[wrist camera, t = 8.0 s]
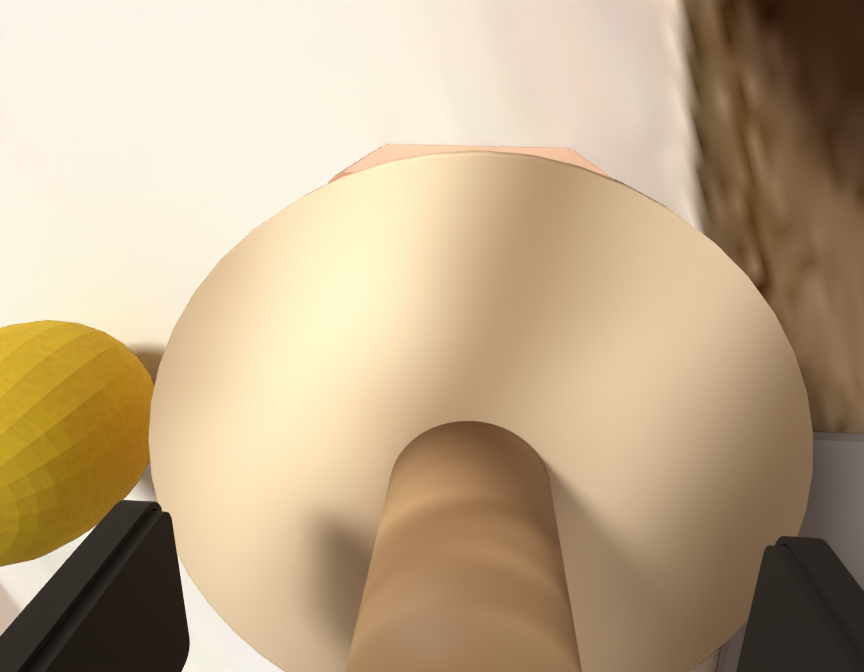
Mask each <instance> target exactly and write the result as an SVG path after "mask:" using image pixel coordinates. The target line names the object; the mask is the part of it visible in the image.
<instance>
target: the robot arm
mask: <svg viewBox="0 0 864 672" xmlns="http://www.w3.org/2000/svg"><path fill="white" fill-rule="evenodd" d="M189 645H190V641H189V632H188V626H187V619H186V612H185V605H184V598H183V591H182V585H181V578H180V571H179V564H178V557H177V550H176V544H175V537H174V530H173V523H172V518H171V515H170V513H169V512H164V511H162V508H161V506H160V505H159V503H157V502H150V501H132V500H122V501H119V502H118V503H116V504H115V505H114V506H113V508H112V509H111V510H110V511H109V512H108V513H107V514H106V516H105V517H104V518H103V519H102V520H101V521H100V522H99V524H98V525H97V526H96V527H95V528H94V529H93V530H92V532H91V533H90V534H89V535H88V536H87V537H86V539H85V540H84V541H83V542H82V543H81V544H80V545H79V547H78V548H77V549H76V550H75V551H74V552H73V553H72V555H71V556H70V557H69V558H68V559H67V560H66V561H65V563H64V564H63V565H62V566H61V567H60V568H59V570H58V571H57V572H56V573H55V574H54V575H53V576H52V578H51V579H50V580H49V581H48V582H47V583H46V584H45V586H44V587H43V588H42V589H41V590H40V591H39V592H38V594H37V595H36V596H35V597H34V598H33V599H32V600H31V602H30V603H29V604H28V605H27V606H26V607H25V609H24V610H23V611H22V612H21V613H20V614H19V616H18V617H17V618H16V619H15V620H14V621H13V622H12V624H11V625H10V626H9V627H8V628H7V629H6V630H5V632H4V633H3V634H2V635H1V636H0V672H181V671H182V669H183V667H184V665H185V663H186V660H187V657H188V652H189ZM736 672H864V591H863V590H862V588H861V587H860V586H859V584H858V583H857V582H856V580H855V579H854V578H853V576H852V575H851V574H850V572H849V571H848V570H847V568H846V567H845V566H844V564H843V563H842V562H841V560H840V559H839V558H838V556H837V555H836V554H835V552H834V551H833V550H832V548H831V547H830V546H829V544H828V543H827V542H826V541H825V540H824V539H821V538H811V537H793V536H782V537H779V539H778V540H777V541H776V544H775V545H768V546H767V547H766V548H765V550H764V553H763V557H762V561H761V566H760V570H759V574H758V579H757V583H756V587H755V592H754V596H753V600H752V605H751V609H750V613H749V618H748V622H747V626H746V631H745V635H744V639H743V644H742V648H741V652H740V657H739V661H738V665H737V670H736Z"/></svg>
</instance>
